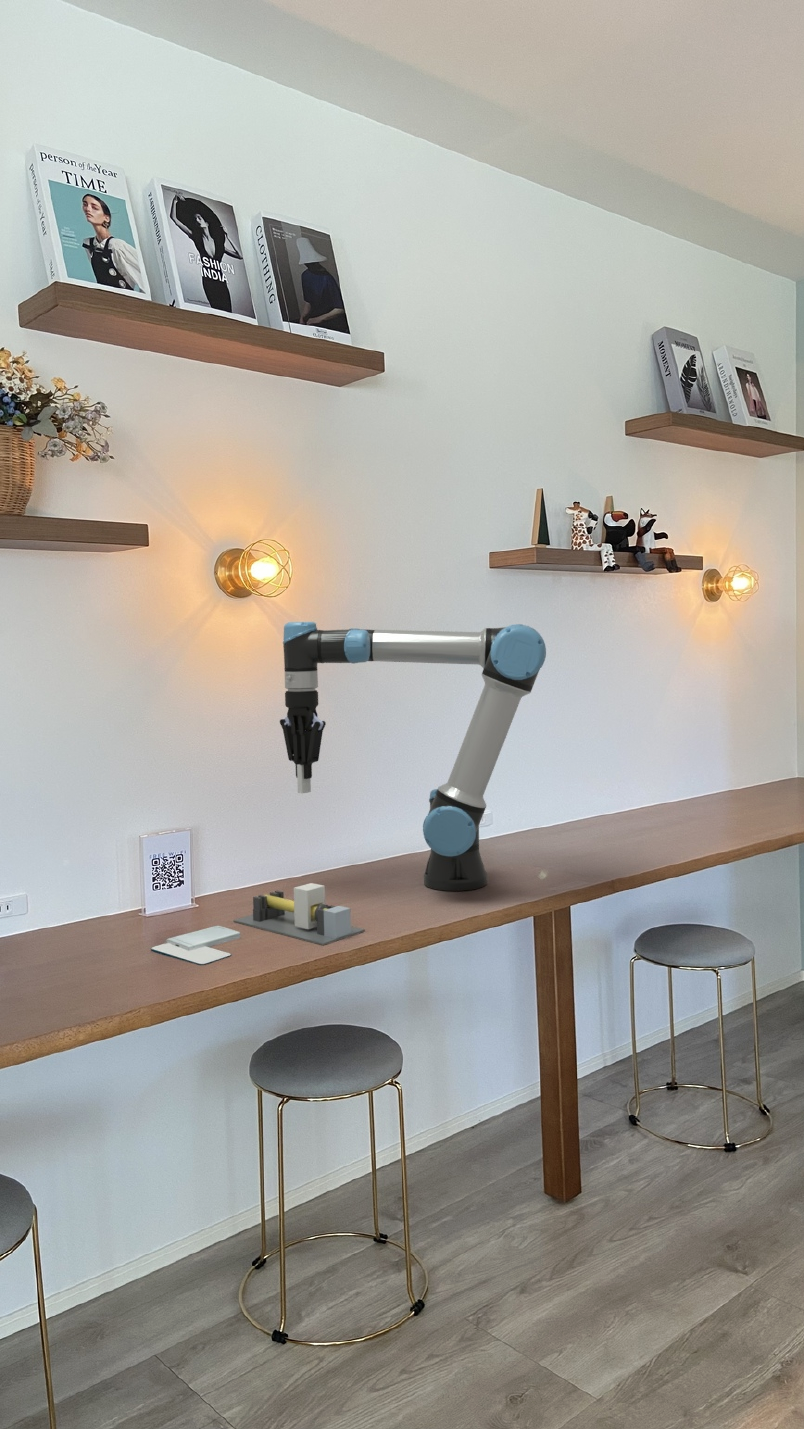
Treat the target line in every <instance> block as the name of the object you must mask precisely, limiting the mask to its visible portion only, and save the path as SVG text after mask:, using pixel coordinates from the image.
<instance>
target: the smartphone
mask: <svg viewBox="0 0 804 1429" xmlns="http://www.w3.org/2000/svg"><path fill="white" fill-rule="evenodd" d="M150 952H153V953H157V954H160V955H162V956H167V957H169V958H174V959H177V960H181V961H184V962H188V963H190V964H193V965H198V966H206V965H209V964H212V963H214V962H217V961H218V962H219V961H220V960H223V959H228V958H230V957H232V955H233V954H232V953H231V952H228V951H225V950H220V949H217V948H213V947H212V946H210V947H207V946H205V947H201V948H197V949H194V950H190V951H188V950H185V949H183V948H180V947H178V946H175V945H172V944H170V943H166V942H164V943H162V944H161V943H160V944H158V945H155V946H151V947H150Z"/></svg>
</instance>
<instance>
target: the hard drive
mask: <svg viewBox="0 0 804 1429" xmlns="http://www.w3.org/2000/svg"><path fill="white" fill-rule="evenodd" d="M238 939H241V932H240V931H239V930H238V931H237V930H234V929H231V928H228V927H225V926H221V925H214V926H210V927H207V928H203V929H200V930H195V931H191V932H188V933H184V934H179V935H176V936H173V937H169V938H167V939H165V943H170V944H172V945H175V946H178V947H180V948H183V949H185V950H188V951H190V950H194V949H197V948H201V947H205V946H207V947H214V946H216V945H220V944H224V943H228V942H231V941H235V940H238Z"/></svg>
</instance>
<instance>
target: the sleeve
mask: <svg viewBox="0 0 804 1429" xmlns="http://www.w3.org/2000/svg"><path fill="white" fill-rule="evenodd" d="M293 901H294V917H295V926H297V927H301V928H305V929H311V928H314V927H317V921H316V920H315V918H313V917H311V906H312V905H314V906H319V905H320V904H325V905H326V887H325V885H322V884H318V883H312V882H310V883H306V884H303V885H298V886H296V887H293Z"/></svg>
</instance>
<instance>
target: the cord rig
mask: <svg viewBox="0 0 804 1429" xmlns="http://www.w3.org/2000/svg"><path fill="white" fill-rule="evenodd" d="M252 908H253V909H252V914H251V915H246V916H243V917H240V918H236V919H233V923H237V924H241V925H245V926H248V927H252V928H256V929H260V930H263V931H266V932H271V933H274V934H279V935H282V936H286V937H288V938H289V937H290V938H293V939H296V940H297V939H298V940H301V941H305V942H309V943H312V944H316V945H320V946H326V945H330V944H331V943H335V942H339V941H340V940H344V939H347V938H349V937H354V936H355V935H358V934H361V933H364V932H366V929H364V928H361V927H357V926H352V924H351V923H352V921H351V920H352V915H351V907H346V906H342V905H337V906H336V905H328V904H326V903H325V904H320V905H319V906H314V905H312V906H311V917H313V918H315V920H316V921H317V927H314V928H311V929H305V928H301V927H297V926H295V917H294V900H292V899H288V898H284V891H281V890H274V891H271V892H270V891H269V894H263V895H262V894H260V895H258V896H253V897H252Z"/></svg>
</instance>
